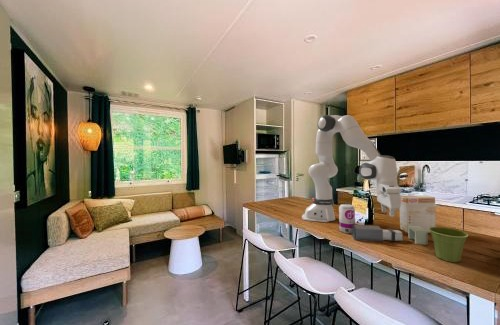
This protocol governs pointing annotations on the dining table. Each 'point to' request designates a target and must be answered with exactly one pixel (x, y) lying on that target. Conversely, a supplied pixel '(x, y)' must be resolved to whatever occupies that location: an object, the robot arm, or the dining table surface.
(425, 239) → the socket
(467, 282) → the dining table surface
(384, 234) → the slip tube
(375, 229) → the sleeve
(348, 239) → the dining table surface
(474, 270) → the dining table surface
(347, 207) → the supplement can
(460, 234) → the plant pot
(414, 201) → the coffeecake box
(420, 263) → the dining table surface
